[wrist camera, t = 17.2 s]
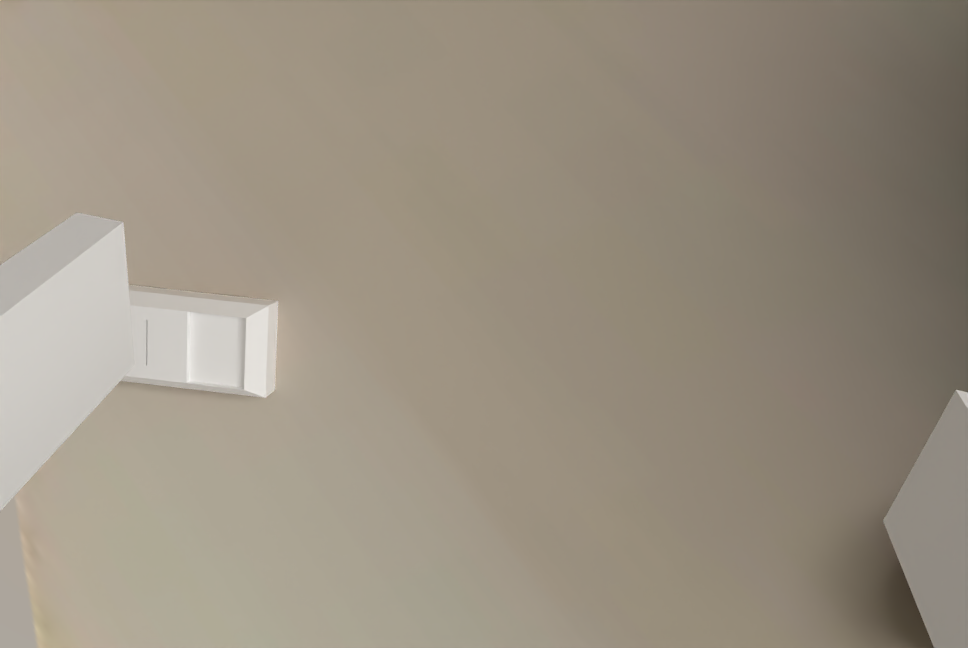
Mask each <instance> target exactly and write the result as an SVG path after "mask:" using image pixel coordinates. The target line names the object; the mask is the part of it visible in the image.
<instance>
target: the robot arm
mask: <svg viewBox="0 0 968 648" xmlns="http://www.w3.org/2000/svg"><path fill="white" fill-rule="evenodd" d="M134 365H135V360H134V347H133V335H132V322H131V310H130V297H129V285H128V272H127V260H126V247H125V235H124V222H122V221H117V220H112V219H107V218H102V217H97V216H92V215H87V214H82V213H75V214H74V215H72V216H71V217H69V218H68V219H67V220H65V221H64V222H62V223H61V224H59V225H58V226H56V227H55V228H53V229H52V230H50V231H49V232H47V233H46V234H45V235H43V236H42V237H40V238H39V239H37V240H36V241H34V242H33V243H31V244H30V245H28V246H27V247H26V248H24V249H23V250H21V251H20V252H18V253H17V254H15V255H14V256H12V257H11V258H9V259H8V260H6V261H5V262H4V263H2V264H1V265H0V511H1V510H2V509H3V508H4V507H5V505H6V504H7V503H8V502H9V501H10V500H11V499H12V498H13V497H14V496H15V495H16V494H17V493H18V491H19V490H20V489H21V488H22V487H23V486H24V485H25V484H26V483H27V482H28V481H29V480H30V478H31V477H32V476H33V475H34V474H35V473H36V472H37V471H38V470H39V469H40V468H41V466H42V465H43V464H44V463H45V462H46V461H47V460H48V459H49V458H50V457H51V456H52V455H53V453H54V452H55V451H56V450H57V449H58V448H59V447H60V446H61V445H62V444H63V443H64V442H65V440H66V439H67V438H68V437H69V436H70V435H71V434H72V433H73V432H74V431H75V430H76V428H77V427H78V426H79V425H80V424H81V423H82V422H83V421H84V420H85V419H86V418H87V417H88V415H89V414H90V413H91V412H92V411H93V410H94V409H95V408H96V407H97V406H98V405H99V403H100V402H101V401H102V400H103V399H104V398H105V397H106V396H107V395H108V394H109V393H110V392H111V390H112V389H113V388H114V387H115V386H116V385H117V384H118V383H119V382H120V381H121V380H122V379H123V377H124V376H125V375H126V374H127V373H128V372H129V371H130V370H131V369H132V368H133V367H134ZM883 522H884V525H885V527H886V530H887V532H888V535H889V537H890V540H891V542H892V545H893V547H894V550H895V552H896V555H897V557H898V560H899V562H900V564H901V567H902V569H903V572H904V574H905V577H906V579H907V582H908V584H909V587H910V589H911V592H912V594H913V597H914V599H915V602H916V604H917V607H918V609H919V612H920V614H921V617H922V619H923V622H924V624H925V627H926V629H927V632H928V634H929V637H930V639H931V642H932V644H933V646H934V648H968V392H964V391H959V390H955V392H954V394H953V396H952V398H951V399H950V401H949V403H948V405H947V407H946V408H945V410H944V412H943V414H942V416H941V417H940V419H939V421H938V423H937V425H936V426H935V428H934V430H933V432H932V434H931V435H930V437H929V439H928V441H927V443H926V444H925V446H924V448H923V450H922V452H921V453H920V455H919V457H918V459H917V461H916V462H915V464H914V466H913V468H912V470H911V471H910V473H909V475H908V477H907V479H906V480H905V482H904V484H903V486H902V488H901V489H900V491H899V493H898V495H897V496H896V498H895V500H894V502H893V504H892V505H891V507H890V509H889V511H888V513H887V514H886V516H885V518H884V520H883Z"/></svg>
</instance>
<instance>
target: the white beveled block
mask: <svg viewBox="0 0 968 648" xmlns="http://www.w3.org/2000/svg"><path fill="white" fill-rule="evenodd" d="M129 297H130V310H131V322H132V335H133V347H134V360H135V365H134V367H133V368H132V369H131V370H130V371H129V372H128V373H127V374H126V375H125V376H124V377H123V379H122V380H121V381H126V382H135V383H143V384H152V385H160V386H169V387H178V388H186V389H195V390H203V391H212V392H220V393H229V394H237V395H246V396H254V397H263V398H266V397H267V396H268V395H270V394H271V393H272V392H273V391H274V390H275V372H276V347H277V321H278V301H277V300H268V299H258V298H249V297H240V296H230V295H221V294H212V293H203V292H193V291H184V290H175V289H166V288H156V287H147V286H138V285H129Z"/></svg>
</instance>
